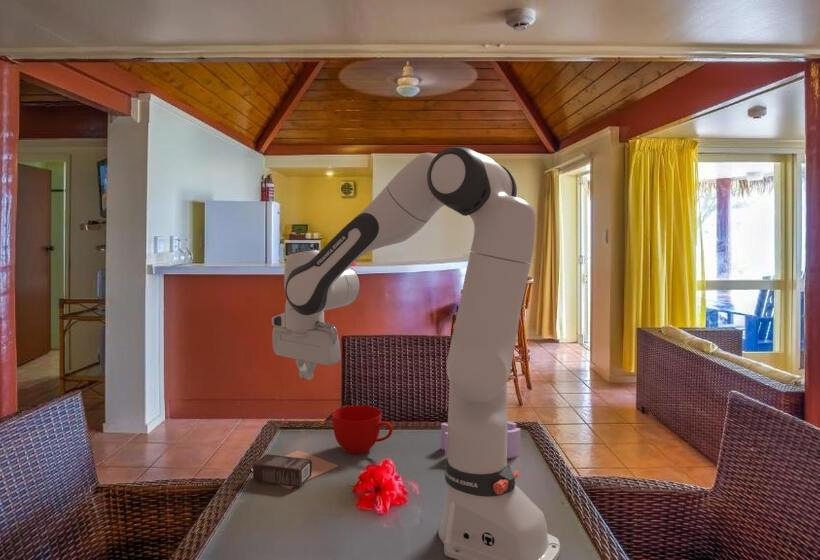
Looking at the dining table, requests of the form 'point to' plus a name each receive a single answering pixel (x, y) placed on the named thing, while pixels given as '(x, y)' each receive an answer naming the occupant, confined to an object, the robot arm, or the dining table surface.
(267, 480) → the box
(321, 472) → the mat
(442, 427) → the clip
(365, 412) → the ceramic cup
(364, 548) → the dining table surface
